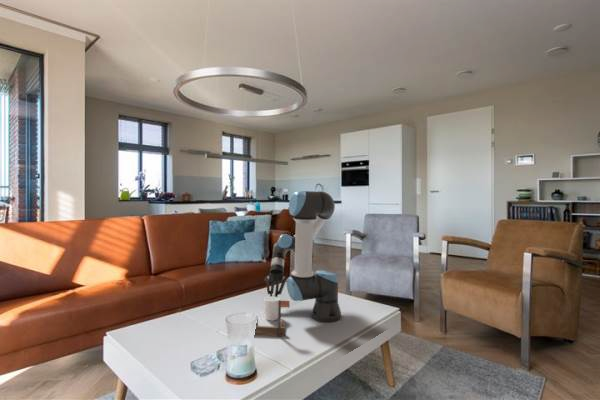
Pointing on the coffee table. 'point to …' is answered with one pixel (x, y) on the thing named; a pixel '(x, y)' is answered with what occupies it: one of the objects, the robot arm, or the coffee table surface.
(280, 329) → the wooden cup stand
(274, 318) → the white cup
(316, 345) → the coffee table surface
